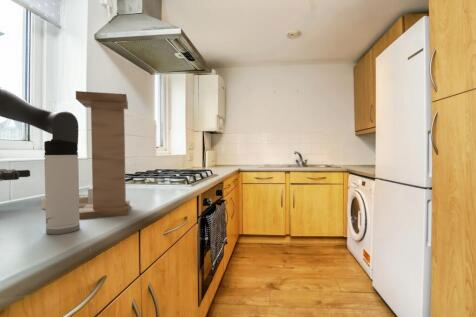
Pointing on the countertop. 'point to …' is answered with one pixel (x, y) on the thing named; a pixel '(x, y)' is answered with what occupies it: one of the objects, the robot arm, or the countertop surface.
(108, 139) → the stand
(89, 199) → the mallet
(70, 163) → the travel mug
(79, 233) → the countertop surface
